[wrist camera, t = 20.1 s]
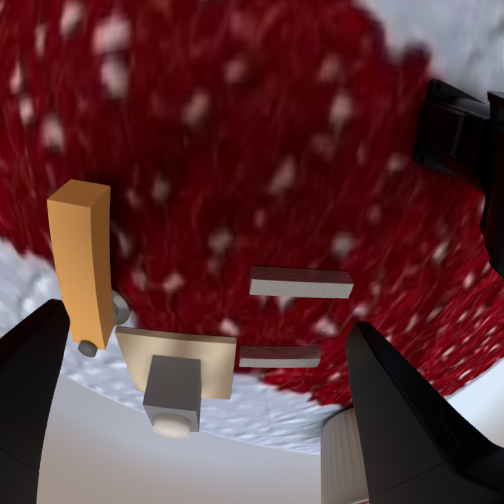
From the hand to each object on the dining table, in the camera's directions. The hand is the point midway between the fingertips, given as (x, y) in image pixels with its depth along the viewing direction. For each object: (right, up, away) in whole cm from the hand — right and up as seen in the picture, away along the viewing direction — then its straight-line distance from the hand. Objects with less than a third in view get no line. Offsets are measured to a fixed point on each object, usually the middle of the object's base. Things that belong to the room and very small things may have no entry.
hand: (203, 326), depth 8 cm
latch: (-11, +1, +12) cm, 16 cm away
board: (-7, -11, +22) cm, 26 cm away
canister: (+19, -25, +34) cm, 47 cm away
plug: (-7, -11, +22) cm, 25 cm away
